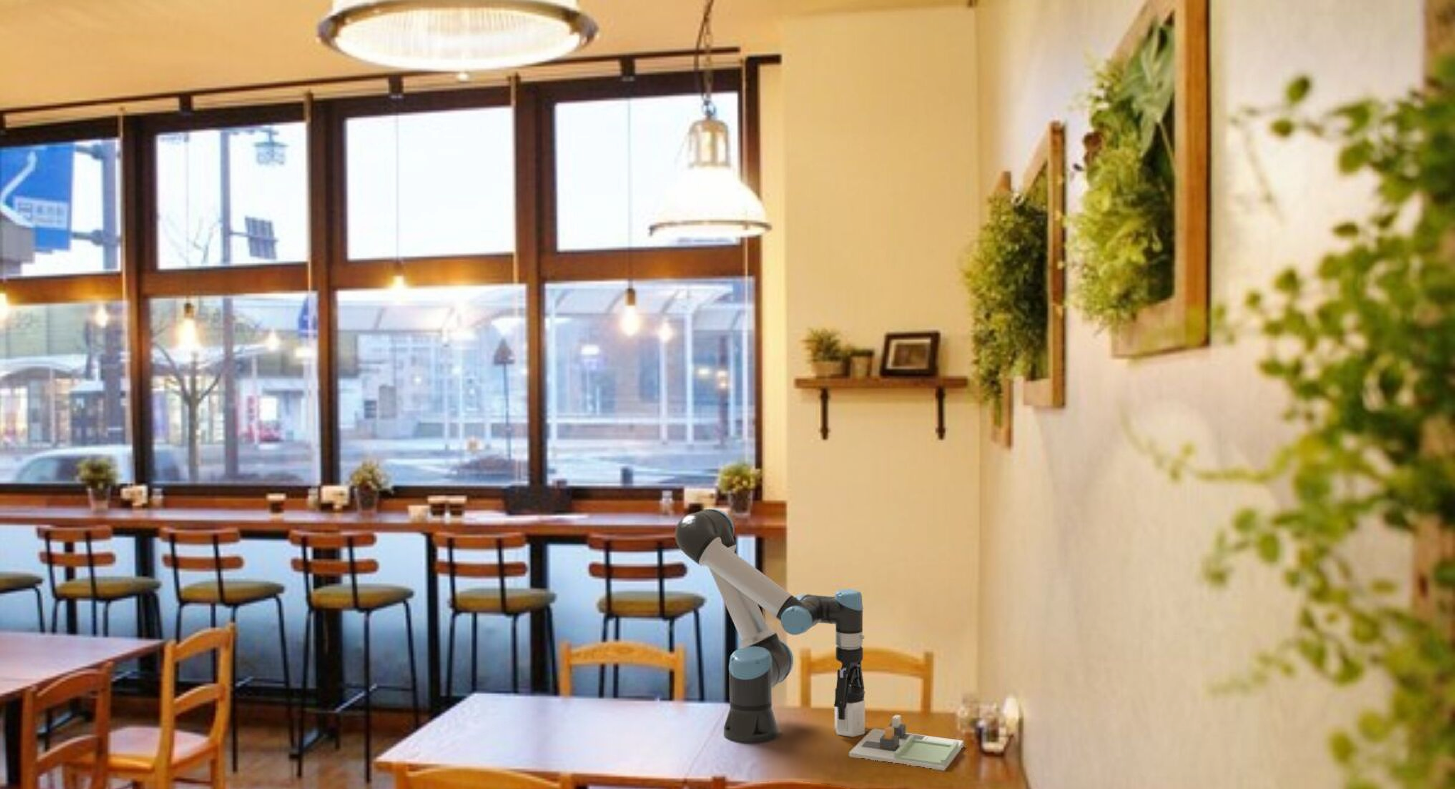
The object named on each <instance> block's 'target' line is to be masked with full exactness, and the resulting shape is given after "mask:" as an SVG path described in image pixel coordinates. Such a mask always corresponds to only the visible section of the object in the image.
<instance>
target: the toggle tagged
mask: <svg viewBox="0 0 1455 789" xmlns="http://www.w3.org/2000/svg"><path fill="white" fill-rule="evenodd" d="M884 730H885V734H884V735H883V736H882V737H881V738H880V748H883V749H890V750H895V749H896V748H897V747H898V746H899V736H895V735H894V727H891V726H889V725H887V726H886V728H884Z"/></svg>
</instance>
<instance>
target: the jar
mask: <svg viewBox="0 0 1455 789" xmlns="http://www.w3.org/2000/svg"><path fill="white" fill-rule="evenodd" d="M864 691H865V688H864V689H862V688H861V687H857V686H851V685H850V689H849V695H848V700H847V706H846V707H848V731H840V730H838V707H834V731H835V732H836V735H838V736H844V737H851V738H854V737H858V736H862V735H865V733H866V710H865V709H866V707H865V706H866V702H865V694H864ZM835 695H836V688H835V689H834V696H835ZM840 703H841V702H840Z"/></svg>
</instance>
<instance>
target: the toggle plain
mask: <svg viewBox="0 0 1455 789" xmlns="http://www.w3.org/2000/svg"><path fill="white" fill-rule="evenodd" d="M906 725H907V724H905V723H902V715H899V714H895V715H893V716H892V718H891V722H890V723H889V724H888V726H891V727H894V735H895V736H899V738H902V737H903V736H904V735H905V734H906V733H907V729H906V728H907V726H906Z"/></svg>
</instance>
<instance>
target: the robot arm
mask: <svg viewBox="0 0 1455 789" xmlns="http://www.w3.org/2000/svg"><path fill="white" fill-rule="evenodd" d="M734 533H735V525H734V522H733V521H732V518H731V517H730V515H729V514H727V512H725V511H722V510H720V509H716V508H707V509H706V508H705V509H704V510H700V511H697V512H692V513H689V514H687V515H685V516H683V518H681V519H680V520H679V522H678V523H677V525H676V528H675V532H674V538H675V542H676V544H677V546H678V548H679V549H680V550H681V551H682V552H683V554H685V555H686V556H687V557H689V559H691V560H692V561H693V562H695V563H696V564H697V565H698V566H700V567H703V566H706V567H707V568H708V569H709V571H710V572H711V576H712V577H713V580H714V582H715V584H716V586H717V588H718V591H719V594H720V595H721V598H722V599H723V602H724V604H725V606H726V609H727V611H728V613H729V615H730V618H731V620H732V622H733V624H734V627H735V629H736V631H737V633H738V635H739V637H740V640H741V643H740V646H739V649H736V650H735V651H733V652H732V654H731V655H730V657H729V665H728V671H729V709H728V713H727V716H726V719H725V723H724V725H723V737H724V738H725V739H726V740H729V741H731V742H735V743H739V744H764V743H767V742H772V741H774V740H776V739H778V737H779V727H778V723H777V720H776V716H775V714H774V711H773V707H772V704H773V701H772V700H773V699H772V698H773V693H772V689H773V688H774V687H775V686H777V685H778V684H780V683H782V682H783V681H785V679H786V678H788V676H789V674H790V673H791V672H792V669H793V666H794V656H793V652H792V650H791V648H790V646H788V644H786V643H785V642H783V641H782V640H780V638H779V636H778V633H777V632H776V631H775V630H773V629H771V628H769V627H768V626H769V625H768V624H767V622H766V620H765V618H764V617H765V616H764V615H763V612H762V611H761V609H760V607H762V608H763V609H764V610H765V611H766V612H768V613H769V614H771V615H772V616H773V617H774V618H776V619H777V620H779V621H780V625H781V628H783V630H784V632H786V633H787V634H789V635H792V636H797V635H801V634H804V633H806V632H808V631H809V630H810V629H811V628H813V627H814V626H816V625H817V624H831V625H833V624H834V625H835V645H836V647H835V659H836V661H838V662H840V663H841V667H840V669H837V670H836V673H837V677H836V678H837V679H836V688H835V689H836V695H835V694H834V704H833V706H834V708H835V707H838V730H840V731H848V707H846V706H847V700H848V695H849V689H850V686H857V687H861V688H862V689H864V695H865V693H866V692H865V683H864V676H863V670H862V662H863V660H864V648H863V647H862V646H863V642H864V641H863V640H864V639H865V635H863V618H864V616H863V612H864V607H863V606H864V605H863V595H862V593H861V592H860V591H859V590H856V589H848V588H847V589H838V590H836V592H835V594H834V596H827V595H815V594H810V593H809V594H808V593H807V594H798V595H796V596H794V595H793V594H791V593H790V592H789V591H787V590H786V589H784V588H783V587H782V586H780V585H779V584H778V583H776V582H775V581H774V580H772V579H771V578H769V577H768V576H766V575H765V574H764V573H763V572H761V571H760V570H759V569H757V568H756V567H755V566H753V565H751V564H750V563H749V562H748V561H746V560H745V559H743V558H742V556H739V555H738V554H737V553H735V551H736V548H737V543H736V541H735V539H734ZM840 702H841V703H840Z"/></svg>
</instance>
